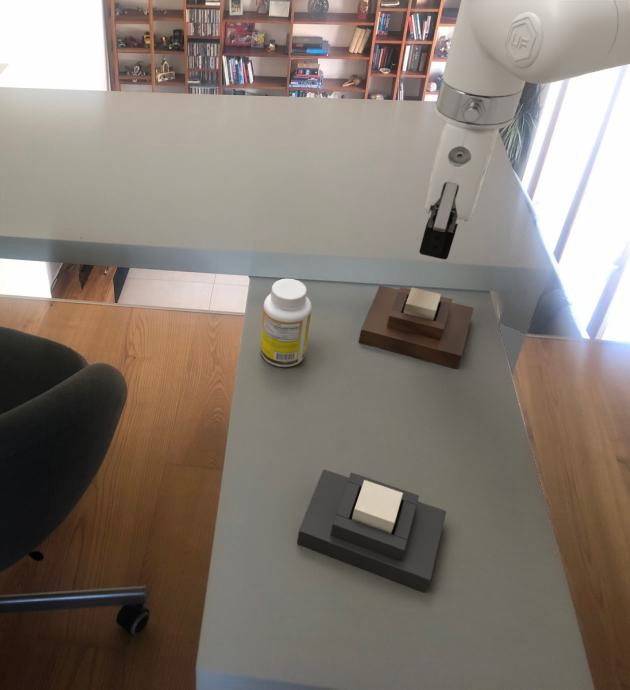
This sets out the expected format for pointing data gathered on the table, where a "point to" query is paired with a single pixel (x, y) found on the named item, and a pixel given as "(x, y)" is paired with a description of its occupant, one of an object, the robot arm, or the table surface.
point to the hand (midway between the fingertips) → (434, 253)
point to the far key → (422, 303)
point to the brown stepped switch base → (416, 328)
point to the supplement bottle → (285, 323)
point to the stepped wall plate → (373, 532)
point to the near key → (377, 506)
